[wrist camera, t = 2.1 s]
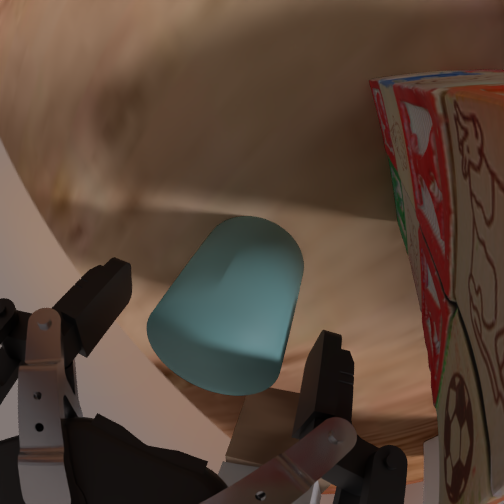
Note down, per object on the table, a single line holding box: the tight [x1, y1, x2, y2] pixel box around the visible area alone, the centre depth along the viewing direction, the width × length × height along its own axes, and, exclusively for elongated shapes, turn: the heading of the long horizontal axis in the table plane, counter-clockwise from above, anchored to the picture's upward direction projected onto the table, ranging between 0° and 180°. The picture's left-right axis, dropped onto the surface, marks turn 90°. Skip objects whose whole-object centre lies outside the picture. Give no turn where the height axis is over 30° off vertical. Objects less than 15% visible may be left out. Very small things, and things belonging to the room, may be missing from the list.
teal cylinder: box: [147, 216, 304, 396], centre depth 13 cm, size 5×5×6 cm
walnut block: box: [225, 388, 331, 494], centre depth 20 cm, size 7×7×6 cm
